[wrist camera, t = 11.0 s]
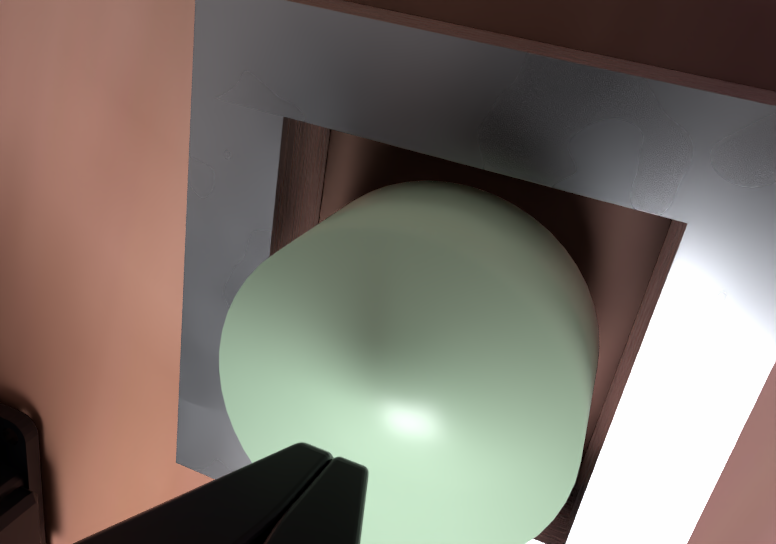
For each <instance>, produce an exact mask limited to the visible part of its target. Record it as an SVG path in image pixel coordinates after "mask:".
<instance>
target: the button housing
mask: <svg viewBox="0 0 776 544" xmlns="http://www.w3.org/2000/svg"><path fill="white" fill-rule="evenodd" d="M330 129H332V130H336V131H340V132H344V133H347V134H351V135H355V136H359V137H363V138H366V139H370V140H374V141H378V142H382V143H385V144H389V145H393V146H397V147H400V148H404V149H408V150H412V151H416V152H419V153H423V154H427V155H431V156H435V157H438V158H442V159H446V160H450V161H453V162H457V163H461V164H465V165H469V166H472V167H476V168H480V169H484V170H488V171H491V172H495V173H499V174H503V175H506V176H510V177H514V178H518V179H522V180H525V181H529V182H533V183H537V184H541V185H544V186H548V187H552V188H556V189H559V190H563V191H567V192H571V193H575V194H578V195H582V196H586V197H590V198H594V199H597V200H601V201H605V202H609V203H612V204H616V205H620V206H624V207H628V208H631V209H635V210H639V211H643V212H647V213H650V214H654V215H658V216H662V217H665V218H669V219H672V222H671V225H670V227H669V230H668V233H667V236H666V238H665V241H664V244H663V246H662V249H661V252H660V254H659V257H658V260H657V263H656V265H655V268H654V271H653V273H652V276H651V279H650V281H649V284H648V287H647V290H646V292H645V295H644V298H643V300H642V303H641V306H640V309H639V311H638V314H637V317H636V319H635V322H634V325H633V327H632V330H631V333H630V336H629V338H628V341H627V344H626V346H625V349H624V352H623V354H622V357H621V360H620V363H619V365H618V368H617V371H616V373H615V376H614V379H613V381H612V384H611V387H610V390H609V392H608V395H607V398H606V400H605V403H604V406H603V408H602V411H601V414H600V417H599V419H598V422H597V425H596V427H595V430H594V433H593V436H592V438H591V441H590V444H589V446H588V449H587V452H586V454H585V457H584V460H583V463H582V465H581V468H580V471H579V473H578V476H577V479H576V481H575V484H574V486H573V488H572V490H571V493H570V495H569V497H568V499H567V501H566V503H565V504H564V506H563V507H562V509H561V510H560V511H559V513H558V514H557V516H556V517H555V519H554V520H553V521H552V522H551V523H550V524H549V525H548V526H547V527H546V528H545V529H544V530H543V531H542V532H541V533H540V534H539V535H537V536H536V537H535V538H533V539H532V540H531V541H529V542H528V543H526V544H687V542H688V540H689V538H690V535H691V533H692V531H693V529H694V527H695V525H696V523H697V521H698V519H699V517H700V515H701V513H702V511H703V509H704V507H705V505H706V503H707V500H708V498H709V496H710V494H711V492H712V490H713V488H714V486H715V484H716V482H717V480H718V478H719V476H720V474H721V472H722V470H723V468H724V465H725V463H726V461H727V459H728V457H729V455H730V453H731V451H732V449H733V447H734V445H735V443H736V441H737V439H738V437H739V435H740V433H741V430H742V428H743V426H744V424H745V422H746V420H747V418H748V416H749V414H750V412H751V410H752V408H753V406H754V404H755V402H756V400H757V398H758V395H759V393H760V391H761V389H762V387H763V385H764V383H765V381H766V379H767V377H768V375H769V373H770V371H771V369H772V367H773V365H774V363H775V360H776V92H775V91H770V90H765V89H760V88H756V87H751V86H746V85H741V84H737V83H732V82H727V81H722V80H718V79H713V78H708V77H703V76H699V75H694V74H689V73H684V72H680V71H675V70H670V69H665V68H661V67H656V66H651V65H646V64H642V63H637V62H632V61H627V60H623V59H618V58H613V57H608V56H604V55H599V54H594V53H590V52H585V51H580V50H575V49H571V48H566V47H561V46H556V45H552V44H547V43H542V42H537V41H533V40H528V39H523V38H518V37H514V36H509V35H504V34H499V33H495V32H490V31H485V30H480V29H476V28H471V27H466V26H461V25H457V24H452V23H447V22H442V21H438V20H433V19H428V18H423V17H419V16H414V15H409V14H404V13H400V12H395V11H390V10H385V9H381V8H376V7H371V6H366V5H362V4H357V3H352V2H347V1H343V0H195V24H194V48H193V71H192V95H191V119H190V143H189V167H188V190H187V214H186V238H185V262H184V286H183V309H182V333H181V357H180V381H179V404H178V428H177V452H176V463H178V464H180V465H183V466H185V467H187V468H190V469H192V470H194V471H197V472H199V473H201V474H204V475H206V476H208V477H211V478H213V479H218V478H220V477H222V476H224V475H226V474H229V473H231V472H233V471H235V470H238V469H240V468H242V467H244V466H246V465H249V464H251V463H252V462H251V460H250V459H249V457H248V456H247V454H246V452H245V451H244V449H243V447H242V445H241V443H240V441H239V439H238V437H237V435H236V433H235V431H234V429H233V426H232V424H231V421H230V418H229V416H228V413H227V410H226V406H225V402H224V398H223V394H222V389H221V381H220V373H219V349H220V342H221V335H222V329H223V326H224V323H225V319H226V316H227V312H228V310H229V308H230V306H231V304H232V302H233V300H234V298H235V295H236V294H237V292H238V291H239V289H240V288H241V286H242V285H243V283H244V282H245V281H246V279H247V278H248V277H249V276H250V275H251V274H252V273H253V271H254V270H255V269H256V268H257V267H258V266H259V265H260V264H261V263H262V262H264V261H265V260H266V259H268V258H269V257H270V256H272V255H273V254H274V253H276V252H277V251H279V250H280V249H282V248H283V247H285V246H286V245H288V244H289V243H291V242H292V241H294V240H295V239H297V238H298V237H300V236H301V235H303V234H304V233H306V232H307V231H309V230H310V229H312V228H313V227H315V226H316V225H318V219H319V211H320V204H321V196H322V188H323V181H324V173H325V165H326V158H327V150H328V143H329V135H330Z"/></svg>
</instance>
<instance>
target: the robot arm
mask: <svg viewBox="0 0 776 544" xmlns="http://www.w3.org/2000/svg"><path fill="white" fill-rule="evenodd" d="M368 477H369V471H368V469H367V467H365V466H364V465H361V464H358V463H356V462H353V461H351V460H348V459H346V458H343V457H340V456H339V457H335V458H334V457H333V456H332V454H331V453H330V452H328V451H326V450H323V449H321V448H318V447H316V446H313V445H310V444H308V443H304V442H300V443H296V444H293V445H291V446H289V447H287V448H284V449H282V450H280V451H278V452H275V453H273V454H271V455H269V456H266V457H264V458H262V459H260V460H258V461H255V462H253V463H251V464H249V465H246V466H244V467H242V468H240V469H238V470H235V471H233V472H231V473H229V474H226V475H224V476H222V477H220V478H218V479H215V480H213V481H211V482H209V483H206V484H204V485H202V486H200V487H198V488H195V489H193V490H191V491H189V492H186V493H184V494H182V495H180V496H178V497H175V498H173V499H171V500H169V501H166V502H164V503H162V504H160V505H158V506H155V507H153V508H151V509H149V510H146V511H144V512H142V513H140V514H138V515H135V516H133V517H131V518H129V519H126V520H124V521H122V522H120V523H117V524H115V525H113V526H111V527H109V528H106V529H104V530H102V531H100V532H97V533H95V534H93V535H91V536H89V537H86V538H84V539H82V540H80V541H77V542H75V543H73V544H360V542H361V534H362V525H363V517H364V509H365V501H366V493H367V485H368ZM0 544H46V540H45V526H44V511H43V496H42V481H41V466H40V452H39V437H38V431H37V428H36V426H35V424H34V422H33V421H32V420H31V419H30V418H29V417H28V416H27V415H26V414H24V413H22V412H20V411H18V410H16V409H13V408H11V407H9V406H6V405H4V404H2V403H0Z"/></svg>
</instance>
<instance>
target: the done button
mask: <svg viewBox="0 0 776 544" xmlns="http://www.w3.org/2000/svg"><path fill="white" fill-rule="evenodd" d="M599 347H600V346H599V326H598V321H597V316H596V311H595V306H594V303H593V300H592V297H591V295H590V292H589V289H588V286H587V284H586V282H585V280H584V278H583V276H582V274H581V272H580V270H579V269H578V267H577V265H576V264H575V262H574V261H573V259H572V258H571V256H570V255H569V254H568V252H567V251H566V249H565V248H564V247H563V246H562V245H561V243H560V242H559V241H558V240H557V239H556V238H555V237H554V236H553V235H552V234H551V232H550V231H549V230H547V229H546V228H545V227H544V226H543V225H542V224H540V223H539V222H538V221H537V220H536V219H534V218H533V217H532V216H531V215H529V214H528V213H526V212H525V211H523V210H522V209H520V208H519V207H517V206H516V205H514V204H512V203H510V202H508V201H506V200H504V199H502V198H500V197H498V196H496V195H494V194H492V193H489V192H486V191H483V190H480V189H477V188H474V187H472V186H467V185H462V184H457V183H452V182H444V181H430V180H425V181H410V182H403V183H398V184H393V185H388V186H385V187H382V188H380V189H377V190H374V191H371V192H369V193H367V194H365V195H363V196H361V197H359V198H358V199H356V200H354V201H352V202H351V203H349V204H348V205H346V206H345V207H343V208H342V209H340V210H339V211H337V212H336V213H334V214H333V215H331V216H330V217H328V218H327V219H325V220H324V221H322V222H321V223H319V224H318V225H316V226H315V227H313V228H312V229H310V230H309V231H307V232H306V233H304V234H303V235H301V236H300V237H298V238H297V239H295V240H294V241H292V242H291V243H289V244H288V245H286V246H285V247H283V248H282V249H280V250H279V251H277V252H276V253H274V254H273V255H272V256H270V257H269V258H268V259H266V260H265V261H264V262H262V263H261V264H260V265H259V266H258V267H257V268H256V269H255V270H254V271H253V273H252V274H251V275H250V276H249V277H248V278H247V279H246V281H245V282H244V283H243V285H242V286H241V288H240V289H239V291H238V292H237V294H236V295H235V298H234V300H233V302H232V304H231V306H230V308H229V310H228V312H227V316H226V319H225V323H224V326H223V329H222V335H221V342H220V349H219V373H220V381H221V389H222V394H223V398H224V402H225V406H226V410H227V413H228V416H229V418H230V421H231V424H232V426H233V429H234V431H235V433H236V435H237V437H238V439H239V441H240V443H241V445H242V447H243V449H244V451H245V452H246V454H247V456H248V457H249V459H250V460H251V462H252V463H253V462H255V461H258V460H260V459H262V458H264V457H266V456H269V455H271V454H273V453H275V452H278V451H280V450H282V449H284V448H287V447H289V446H291V445H293V444H296V443H300V442H304V443H308V444H310V445H313V446H316V447H318V448H321V449H323V450H326V451H328V452H330V453H331V454H332V456H333V457H334V458H335V457H339V456H340V457H343V458H346V459H348V460H351V461H353V462H356V463H358V464H361V465H364V466H365V467H367V469H368V471H369V477H368V485H367V493H366V501H365V509H364V517H363V525H362V534H361V542H360V544H526V543H528V542H529V541H531V540H532V539H533V538H535V537H536V536H537V535H539V534H540V533H541V532H542V531H543V530H544V529H545V528H546V527H547V526H548V525H549V524H550V523H551V522H552V521H553V520H554V519H555V517H556V516H557V514H558V513H559V511H560V510H561V509H562V507H563V506H564V504H565V503H566V501H567V499H568V497H569V495H570V493H571V490H572V488H573V486H574V484H575V481H576V478H577V474H578V470H579V467H580V463H581V458H582V453H583V447H584V441H585V435H586V430H587V424H588V418H589V412H590V406H591V401H592V395H593V389H594V383H595V378H596V372H597V366H598V356H599Z"/></svg>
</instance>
